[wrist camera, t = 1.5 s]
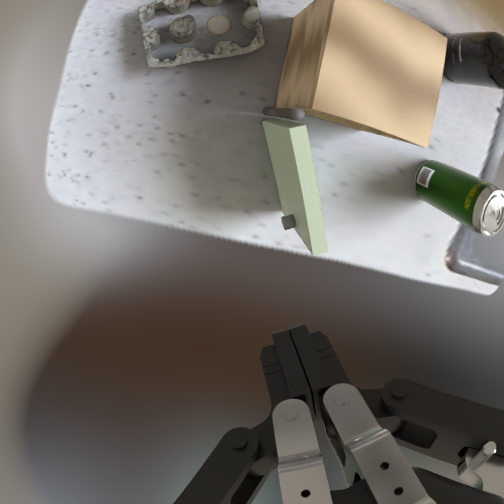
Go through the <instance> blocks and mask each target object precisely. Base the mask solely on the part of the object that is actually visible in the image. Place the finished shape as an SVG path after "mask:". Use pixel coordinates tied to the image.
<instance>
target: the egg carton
mask: <svg viewBox="0 0 504 504" xmlns="http://www.w3.org/2000/svg"><path fill="white" fill-rule="evenodd" d="M195 1H198V0H158V1H155V2H154V3H152V4H150V5H144V6H142V7H140V8H139V16H140V23H141V30H142V36H143V42H144V48H145V49H144V50H145V54H146V58H147V62H148V64H149V67H166V68H167V69H170V68H174V67H177V65H181V64H187V63H191V62H193V61H202V60H208V59H215V58H223V57H231V56H236V55H241V54H245V53H250V52H252V51H255V50H256V49H258V48H260V47H261V46H263V45H265V42H264V36H263V30H262V25H261V20H260V13H259V8H258V5H257V0H242V1H245V2H250V7H248V8H247V9H246V11H245V12H244V14H243V16H242V23H243V25H244V26H245V27H246V28H248V29H250V30H256V32H257V35H256V36H255V38H254V39H253V41H252V42H251V43H250V45H249V46H248V47H242V48H241V47H239V46H238V45H237V43H235V42H234V41H223V42H220V41H219V42H218V44H217V45H216V46H215V50H214V54H211V53H208V54H204V53H201V52H199V51H198V49H196V48H187V47H185V48H183V49H181V50H180V51H178V52H177V55H176V58H175V60H174V61H171V60H170V59H168V58H167V59H164V60H163V61H161V60H160V59H157V58H153V54H154V52H155V50H156V49H157V48H158V47H159V45H160V43H161V37H160V35H159V34H158V31H157V30H155V29H154V28H153V27H152V26H146V23H147V22H149V21H150V20H151V19H152V18H153V17H154V15H155V12H156V11H157V10H159V9H162V8H166V9H167V10H168V11H169V12H170V13H172V14H180V13H183V12H184V11H186V10H187V9H188V7H189V5H190V3H193V2H195ZM201 2H202V3H203V4H204V5H206V6H210V7H214V6H217V5H219V4H221V3H222V2H223V0H201ZM230 28H231V23H230V20H228V18H227V17H225V16H222V15H217V16H214V17H212V18H210V19H209V21H208V23H207V29H208V30H209V31H210V32H211V33H212V34H214V35H223V34H225V33H227V32H228V31H229V29H230ZM169 30H170V34H171V36H172V38H173V39H174V40H175V41H177V42H179V43H187V42H189V41H190V40H192V39H193V37H194V36H195V35H196V24H195V20H194V18H193V17H192V16H190V15H187V16H184V17H180V18H176V19H175V20H174V21H173V22H172V23H171V25H170V28H169ZM204 55H206V56H205V57H204Z"/></svg>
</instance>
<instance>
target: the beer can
mask: <svg viewBox="0 0 504 504" xmlns="http://www.w3.org/2000/svg"><path fill="white" fill-rule="evenodd" d="M413 182H414V188H415V191H416V193H417V195H418V196H419V197H420V199H422V200H423V201H425V202H427V203H429V204H430V205H432V206H434V207H436V208H437V209H439V210H441V211H442V212H444V213H446V214H447V215H449V216H451V217H452V218H454V219H456V220H457V221H459V222H461V223H462V224H464V225H465V226H467V227H469V228H470V229H472V230H473V231H475V232H476V233H478V234H480V235H485V236H487V237H491V236H493V235H495V234H496V233H498V232H499V231H500V229H501V227H502V226H503V224H504V192H503V191H501V190H500V189H499V188H498V187H497V186H496V185H494V184H491V183H489V182H487V181H485V180H482V179H480V178H478V177H476V176H473V175H471V174H468V173H466V172H464V171H461V170H459V169H456V168H454V167H451V166H448V165H446V164H443V163H441V162H438V161H433V160H431V161H427V162H424V163H423V164H421V165H420V166H419V167H418V169H417V170H416V172H415V175H414V181H413Z"/></svg>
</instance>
